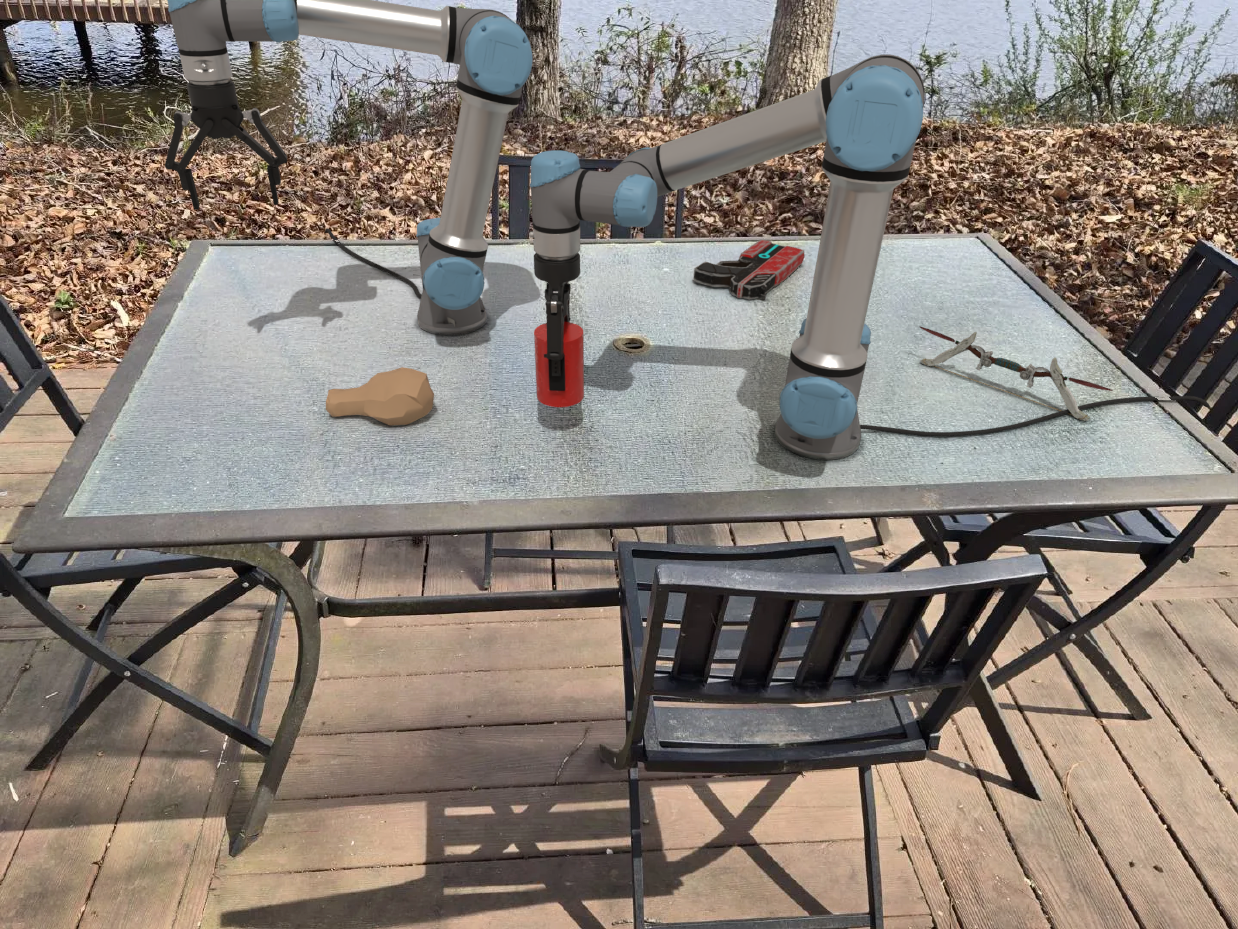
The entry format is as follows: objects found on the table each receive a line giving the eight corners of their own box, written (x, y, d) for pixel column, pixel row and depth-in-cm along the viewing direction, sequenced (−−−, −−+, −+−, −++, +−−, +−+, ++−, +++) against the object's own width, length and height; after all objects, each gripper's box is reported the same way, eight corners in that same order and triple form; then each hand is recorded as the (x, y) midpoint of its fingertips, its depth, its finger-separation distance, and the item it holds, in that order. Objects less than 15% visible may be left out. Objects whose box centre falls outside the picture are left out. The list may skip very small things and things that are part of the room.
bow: (1101, 423, 166) (1119, 376, 160) (1098, 427, 165) (1116, 380, 159) (913, 357, 187) (924, 314, 182) (909, 360, 186) (919, 316, 181)
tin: (528, 401, 154) (525, 336, 147) (550, 380, 161) (548, 317, 154) (570, 411, 151) (569, 346, 144) (591, 390, 158) (591, 326, 151)
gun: (689, 269, 215) (762, 288, 207) (741, 232, 237) (809, 248, 229) (687, 286, 217) (759, 305, 209) (739, 248, 239) (806, 264, 231)
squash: (434, 432, 158) (421, 393, 152) (327, 440, 160) (310, 402, 153) (443, 394, 166) (431, 355, 160) (341, 402, 167) (325, 364, 161)
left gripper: (125, 87, 142) (160, 216, 154) (286, 82, 149) (308, 206, 161) (132, 78, 148) (165, 203, 160) (287, 74, 155) (308, 194, 167)
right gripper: (541, 230, 150) (545, 349, 163) (525, 276, 133) (531, 406, 145) (584, 231, 150) (585, 350, 163) (574, 277, 132) (576, 407, 145)
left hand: (237, 205), depth 160 cm, fingers open, 13 cm apart
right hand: (559, 377), depth 154 cm, fingers closed on tin, 8 cm apart
